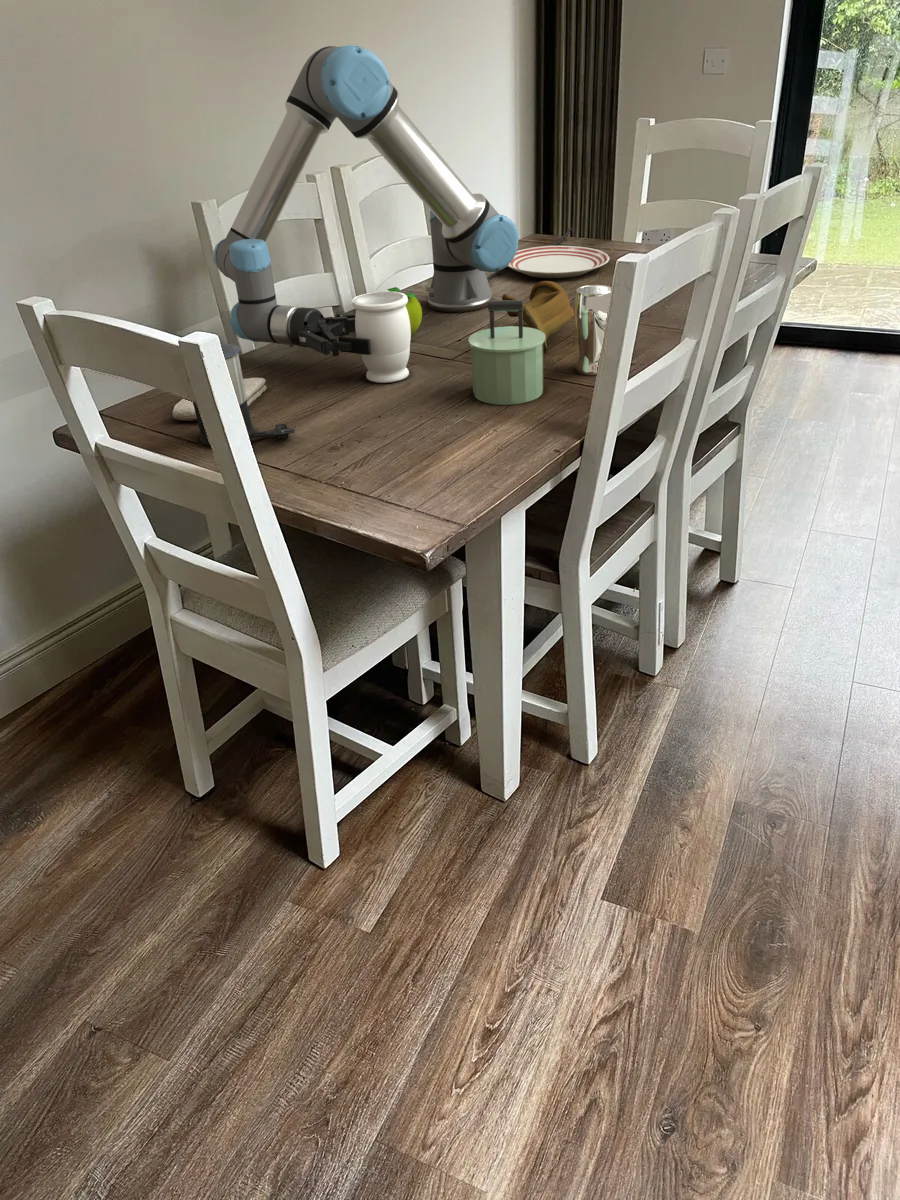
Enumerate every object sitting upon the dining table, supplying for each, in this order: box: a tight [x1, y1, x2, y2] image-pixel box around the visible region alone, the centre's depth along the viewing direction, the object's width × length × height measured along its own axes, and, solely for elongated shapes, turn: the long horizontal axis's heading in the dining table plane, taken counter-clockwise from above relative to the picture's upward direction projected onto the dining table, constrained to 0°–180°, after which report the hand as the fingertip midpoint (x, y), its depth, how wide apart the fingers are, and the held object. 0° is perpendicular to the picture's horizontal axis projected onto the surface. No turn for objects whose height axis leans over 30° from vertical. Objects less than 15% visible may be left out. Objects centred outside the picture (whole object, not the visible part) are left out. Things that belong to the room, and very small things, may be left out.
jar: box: [351, 290, 412, 384], centre depth 175 cm, size 11×10×15 cm
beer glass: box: [574, 284, 613, 376], centre depth 171 cm, size 7×7×15 cm
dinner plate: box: [508, 245, 610, 279], centre depth 242 cm, size 27×27×3 cm
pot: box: [470, 344, 545, 406], centre depth 166 cm, size 13×13×10 cm
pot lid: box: [467, 299, 546, 353], centre depth 161 cm, size 14×14×8 cm
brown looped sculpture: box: [501, 280, 575, 354], centre depth 189 cm, size 18×13×22 cm
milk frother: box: [192, 343, 296, 446], centre depth 153 cm, size 14×16×15 cm
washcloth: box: [172, 377, 268, 422], centre depth 171 cm, size 12×18×3 cm, turn 170°
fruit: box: [386, 286, 423, 336], centre depth 198 cm, size 9×9×10 cm
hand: (389, 336), depth 175 cm, fingers open, 13 cm apart
